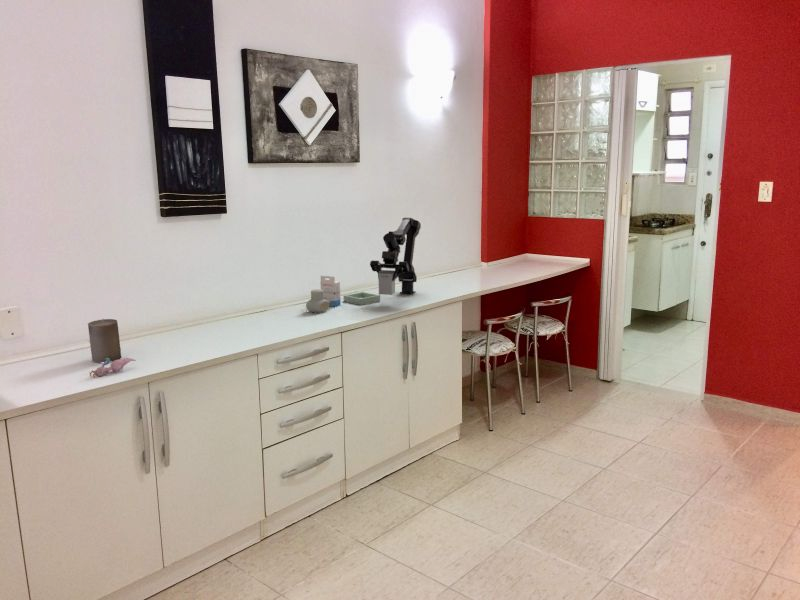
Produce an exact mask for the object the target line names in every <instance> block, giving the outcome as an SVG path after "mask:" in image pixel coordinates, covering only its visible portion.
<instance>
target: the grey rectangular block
mask: <svg viewBox="0 0 800 600" xmlns="http://www.w3.org/2000/svg"><path fill="white" fill-rule="evenodd" d="M394 272H395V270H392V269H391V270H388V269H385V270H384V269H381V271H379V272H378V273H377V275H378V274H379V280H378V295H386V296H387V295H388V296H390V295H391V296H393V295H395V294H396V279H395V280H394V281H392V278H393V275H394Z"/></svg>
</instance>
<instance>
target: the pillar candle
mask: <svg viewBox="0 0 800 600" xmlns="http://www.w3.org/2000/svg"><path fill="white" fill-rule="evenodd" d="M118 325H119V324H118V320H117V319H111V318H102V319H97V320H93V321H90V322H88V323H87V327H88V335H89V343H90V351H91V361H92V362H93V361H94V362H93V363H96V362H105V361H106V360H105V358H109V359H110V361H115V360H118V359H119V360H121V359H122V353H121V350H122V349H121V342H120V333H119V326H118ZM120 358H121V359H120Z"/></svg>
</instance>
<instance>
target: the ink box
mask: <svg viewBox="0 0 800 600" xmlns="http://www.w3.org/2000/svg"><path fill="white" fill-rule="evenodd" d="M319 284H320V290H323V291H324V299H325V300H327V301H328V302H329V307H333V306H336V307H338V305H339V306H341V301H342V300H341V282H340V281H339V280H336V281H335V276H330V275H320V283H319Z"/></svg>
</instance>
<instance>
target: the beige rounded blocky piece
mask: <svg viewBox="0 0 800 600" xmlns="http://www.w3.org/2000/svg"><path fill="white" fill-rule="evenodd" d="M305 308H306V310H307V311H309V312H311V313H315V312H322V313H324V312H326V311H327V310H328V309H329V308H330V306H329V302H328V301H327V300H325V299H324V291H323V290H321V289H312V290H310V299H309V300H308V301H307V302H306V303H305Z"/></svg>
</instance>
